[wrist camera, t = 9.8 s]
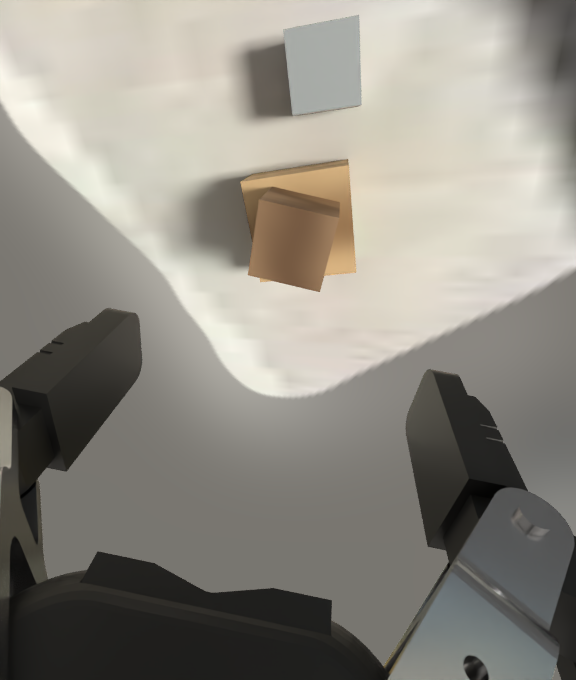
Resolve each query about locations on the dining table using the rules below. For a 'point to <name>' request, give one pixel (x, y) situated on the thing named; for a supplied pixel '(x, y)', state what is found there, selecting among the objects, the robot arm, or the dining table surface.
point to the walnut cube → (293, 238)
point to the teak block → (319, 183)
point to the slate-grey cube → (324, 65)
